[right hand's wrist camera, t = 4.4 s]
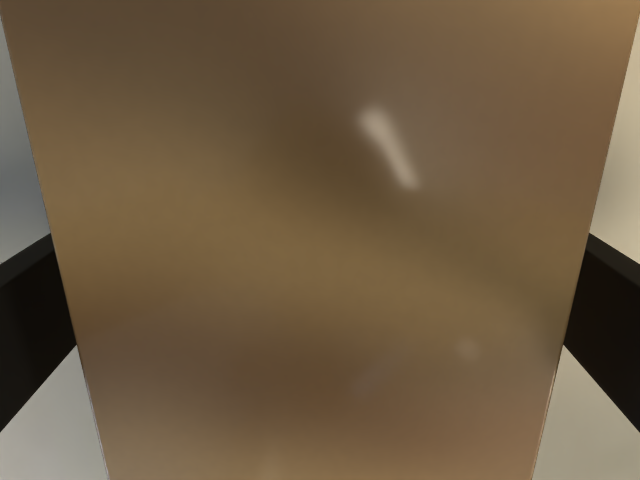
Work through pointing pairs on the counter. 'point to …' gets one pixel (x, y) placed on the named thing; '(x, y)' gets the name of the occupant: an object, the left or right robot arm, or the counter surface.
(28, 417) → the counter surface
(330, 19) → the wide beam
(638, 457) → the counter surface
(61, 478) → the counter surface
